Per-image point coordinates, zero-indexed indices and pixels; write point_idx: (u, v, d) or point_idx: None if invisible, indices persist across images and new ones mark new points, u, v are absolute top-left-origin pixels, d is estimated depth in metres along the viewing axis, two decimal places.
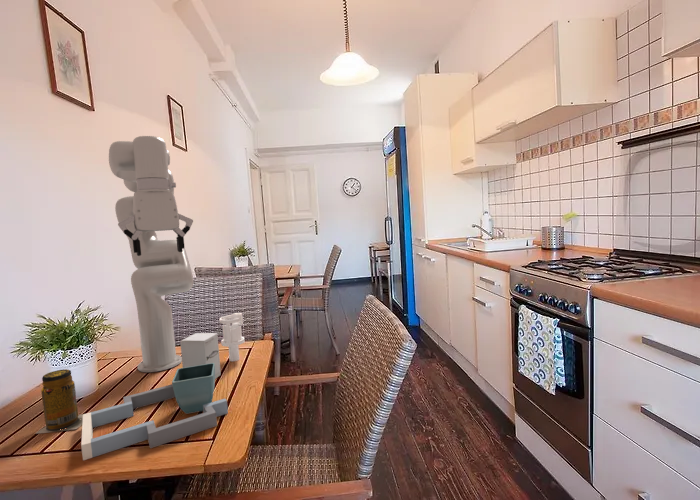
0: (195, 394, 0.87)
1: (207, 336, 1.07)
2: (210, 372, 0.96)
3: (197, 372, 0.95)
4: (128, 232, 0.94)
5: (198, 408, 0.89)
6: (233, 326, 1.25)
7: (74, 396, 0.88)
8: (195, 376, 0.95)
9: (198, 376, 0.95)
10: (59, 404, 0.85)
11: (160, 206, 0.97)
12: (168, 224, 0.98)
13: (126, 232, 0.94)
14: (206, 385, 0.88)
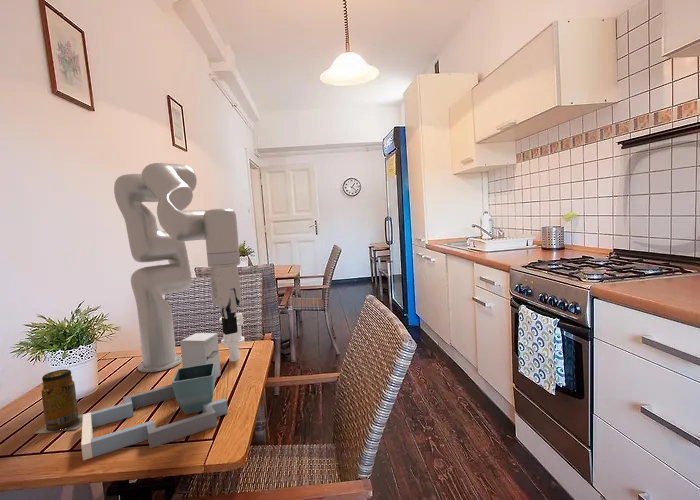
0: (195, 394, 0.87)
1: (207, 336, 1.07)
2: (210, 372, 0.96)
3: (197, 372, 0.95)
4: None
5: (198, 408, 0.89)
6: None
7: (74, 396, 0.88)
8: (195, 376, 0.95)
9: (198, 376, 0.95)
10: (59, 404, 0.85)
11: None
12: None
13: None
14: (206, 385, 0.88)
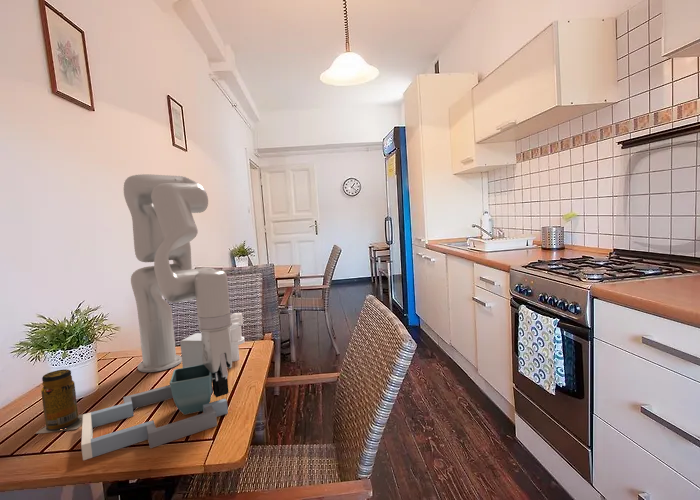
0: (193, 394, 0.87)
1: None
2: (207, 372, 0.95)
3: (194, 372, 0.94)
4: None
5: (196, 408, 0.88)
6: (233, 326, 1.25)
7: (74, 396, 0.88)
8: (192, 377, 0.94)
9: (195, 376, 0.94)
10: (59, 404, 0.85)
11: None
12: None
13: None
14: (205, 385, 0.88)
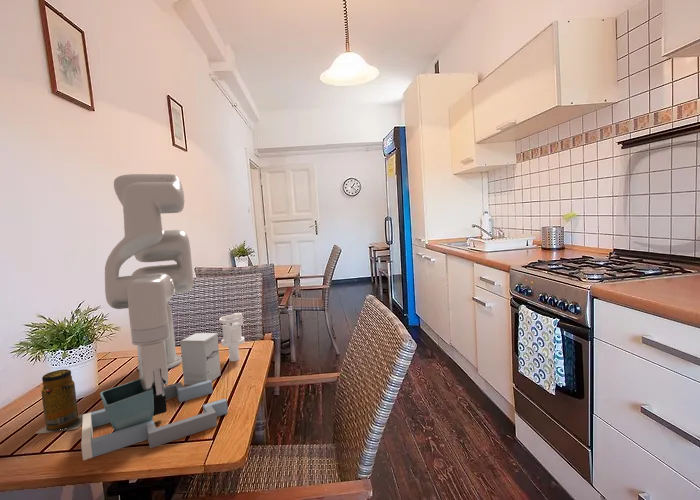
0: (134, 413, 0.80)
1: (207, 336, 1.07)
2: (140, 388, 0.87)
3: (124, 391, 0.85)
4: None
5: None
6: (233, 326, 1.25)
7: (74, 396, 0.88)
8: (122, 396, 0.85)
9: (126, 396, 0.85)
10: (59, 404, 0.85)
11: None
12: None
13: (162, 390, 0.85)
14: (147, 400, 0.81)
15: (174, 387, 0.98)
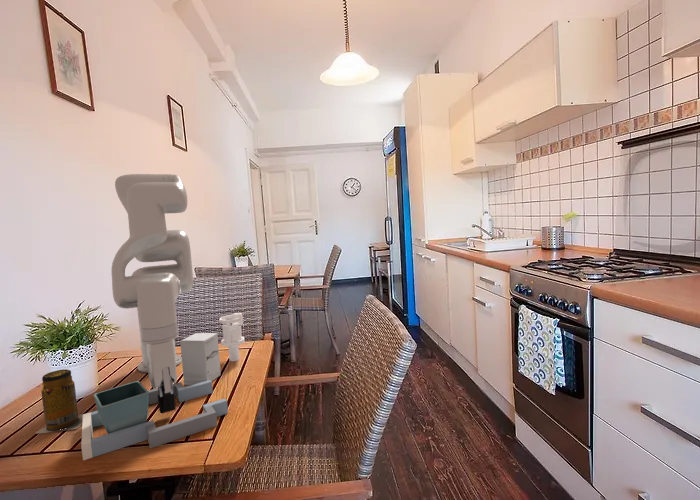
0: (128, 416, 0.79)
1: (207, 336, 1.07)
2: (134, 392, 0.87)
3: (118, 394, 0.85)
4: None
5: None
6: (233, 326, 1.25)
7: (74, 396, 0.88)
8: (116, 399, 0.84)
9: (120, 398, 0.85)
10: (59, 404, 0.85)
11: None
12: None
13: (171, 388, 0.86)
14: (142, 403, 0.80)
15: (174, 387, 0.98)
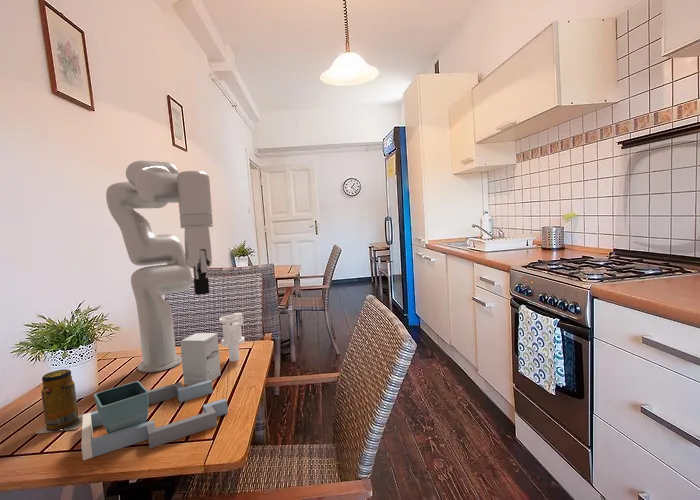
0: (128, 416, 0.79)
1: (207, 336, 1.07)
2: (134, 392, 0.87)
3: (118, 394, 0.85)
4: None
5: None
6: (233, 326, 1.25)
7: (74, 396, 0.88)
8: (116, 399, 0.84)
9: (120, 398, 0.85)
10: (59, 404, 0.85)
11: None
12: None
13: (206, 271, 0.95)
14: (142, 403, 0.80)
15: (174, 387, 0.98)
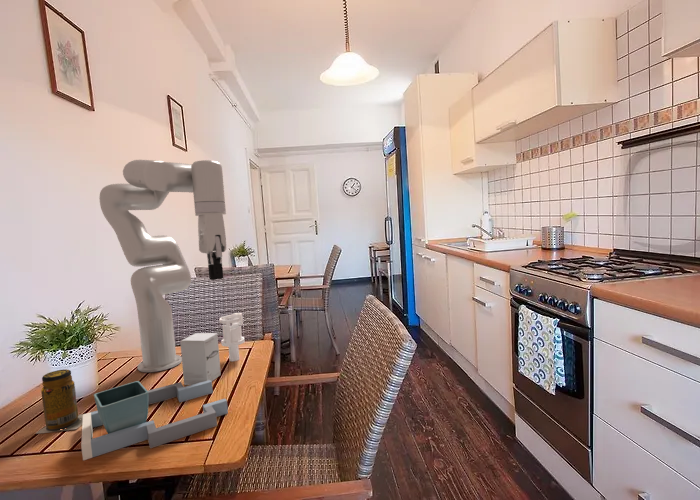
0: (128, 416, 0.79)
1: (207, 336, 1.07)
2: (134, 392, 0.87)
3: (118, 394, 0.85)
4: None
5: None
6: (233, 326, 1.25)
7: (74, 396, 0.88)
8: (116, 399, 0.84)
9: (120, 398, 0.85)
10: (58, 404, 0.85)
11: None
12: None
13: None
14: (142, 403, 0.80)
15: (174, 387, 0.98)
